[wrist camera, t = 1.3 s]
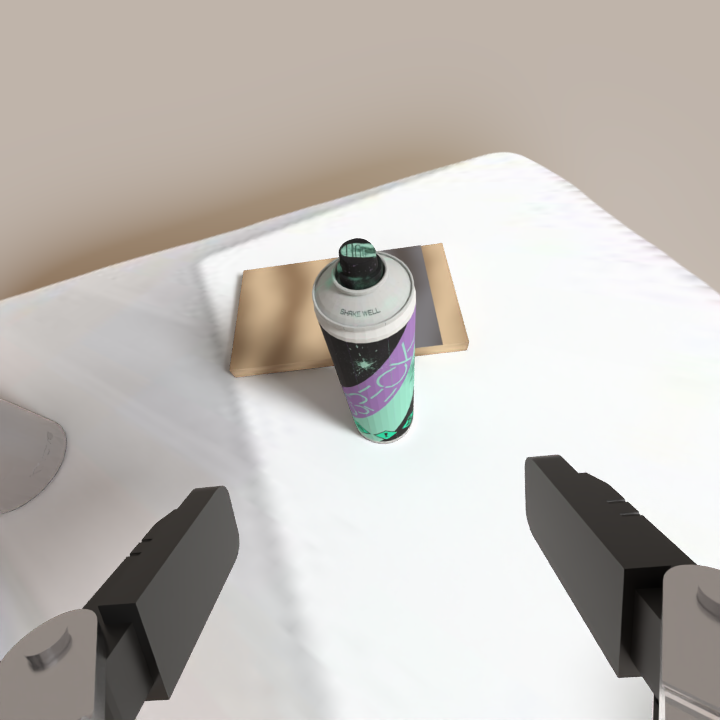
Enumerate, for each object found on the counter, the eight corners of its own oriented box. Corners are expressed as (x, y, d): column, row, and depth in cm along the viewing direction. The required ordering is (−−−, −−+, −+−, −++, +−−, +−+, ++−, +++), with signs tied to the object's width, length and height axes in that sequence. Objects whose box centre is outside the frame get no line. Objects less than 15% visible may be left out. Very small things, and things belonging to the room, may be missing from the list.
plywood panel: (235, 377, 37) (228, 369, 36) (248, 279, 45) (243, 270, 43) (466, 350, 36) (469, 341, 34) (441, 252, 43) (442, 242, 42)
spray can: (343, 410, 34) (276, 246, 17) (389, 378, 35) (370, 195, 18) (377, 456, 31) (338, 317, 14) (425, 420, 32) (443, 253, 15)
